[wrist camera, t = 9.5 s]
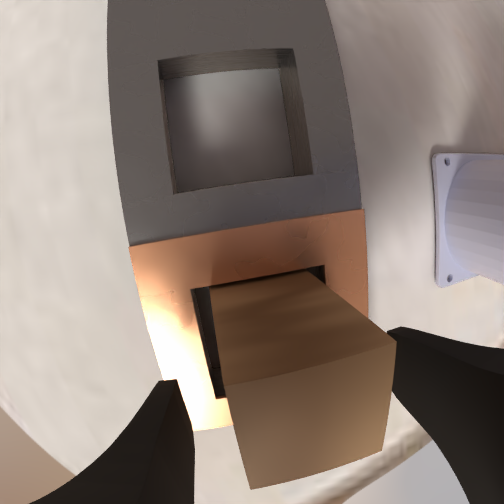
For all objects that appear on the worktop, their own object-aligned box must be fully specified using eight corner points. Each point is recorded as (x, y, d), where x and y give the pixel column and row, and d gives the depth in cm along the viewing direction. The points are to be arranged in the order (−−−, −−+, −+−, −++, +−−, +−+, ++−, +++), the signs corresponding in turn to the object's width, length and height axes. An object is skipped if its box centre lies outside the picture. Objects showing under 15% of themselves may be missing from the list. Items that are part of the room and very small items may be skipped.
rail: (280, -71, 11) (292, -97, 8) (345, 365, 17) (365, 390, 15) (122, -59, 10) (115, -86, 7) (183, 400, 16) (182, 432, 13)
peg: (290, 257, 15) (396, 341, 7) (297, 331, 16) (381, 450, 8) (207, 271, 15) (223, 385, 6) (221, 346, 16) (250, 489, 7)
